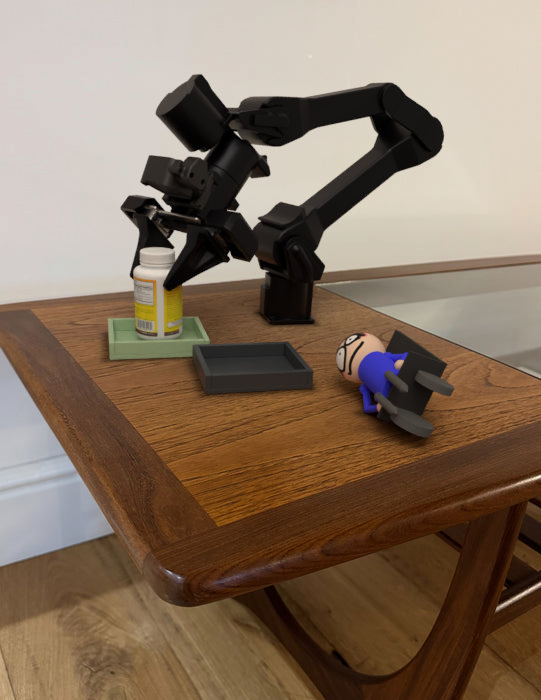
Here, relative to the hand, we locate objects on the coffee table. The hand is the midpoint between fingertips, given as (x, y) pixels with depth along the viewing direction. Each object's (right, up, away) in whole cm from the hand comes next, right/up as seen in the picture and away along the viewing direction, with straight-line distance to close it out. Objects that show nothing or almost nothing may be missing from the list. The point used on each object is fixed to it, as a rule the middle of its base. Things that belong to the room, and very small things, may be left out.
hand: (148, 283), depth 70 cm
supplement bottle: (+1, -6, +3) cm, 7 cm away
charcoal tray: (+12, -10, -4) cm, 16 cm away
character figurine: (+25, -14, -11) cm, 31 cm away
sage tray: (0, -7, +4) cm, 8 cm away
